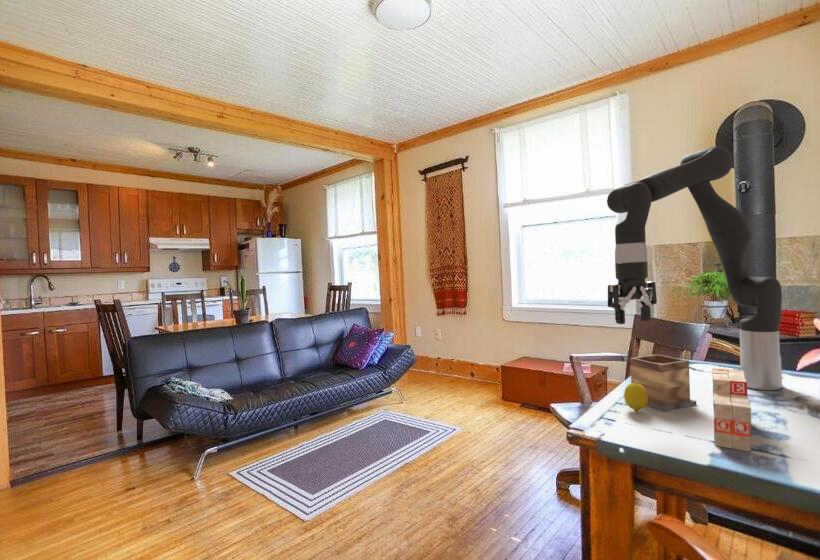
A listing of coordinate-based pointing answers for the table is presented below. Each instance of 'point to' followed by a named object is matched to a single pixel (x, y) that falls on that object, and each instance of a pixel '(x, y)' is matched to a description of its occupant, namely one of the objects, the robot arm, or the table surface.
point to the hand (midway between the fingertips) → (633, 322)
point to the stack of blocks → (731, 409)
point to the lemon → (636, 396)
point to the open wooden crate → (663, 381)
